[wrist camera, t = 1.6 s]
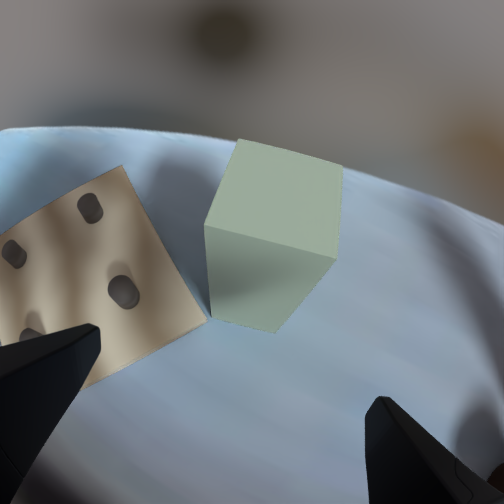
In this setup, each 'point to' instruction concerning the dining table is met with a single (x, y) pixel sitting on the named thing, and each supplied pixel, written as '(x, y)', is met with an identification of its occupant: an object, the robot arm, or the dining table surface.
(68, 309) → the peg board
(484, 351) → the dining table surface
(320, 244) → the sage block
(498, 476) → the coffee mug
